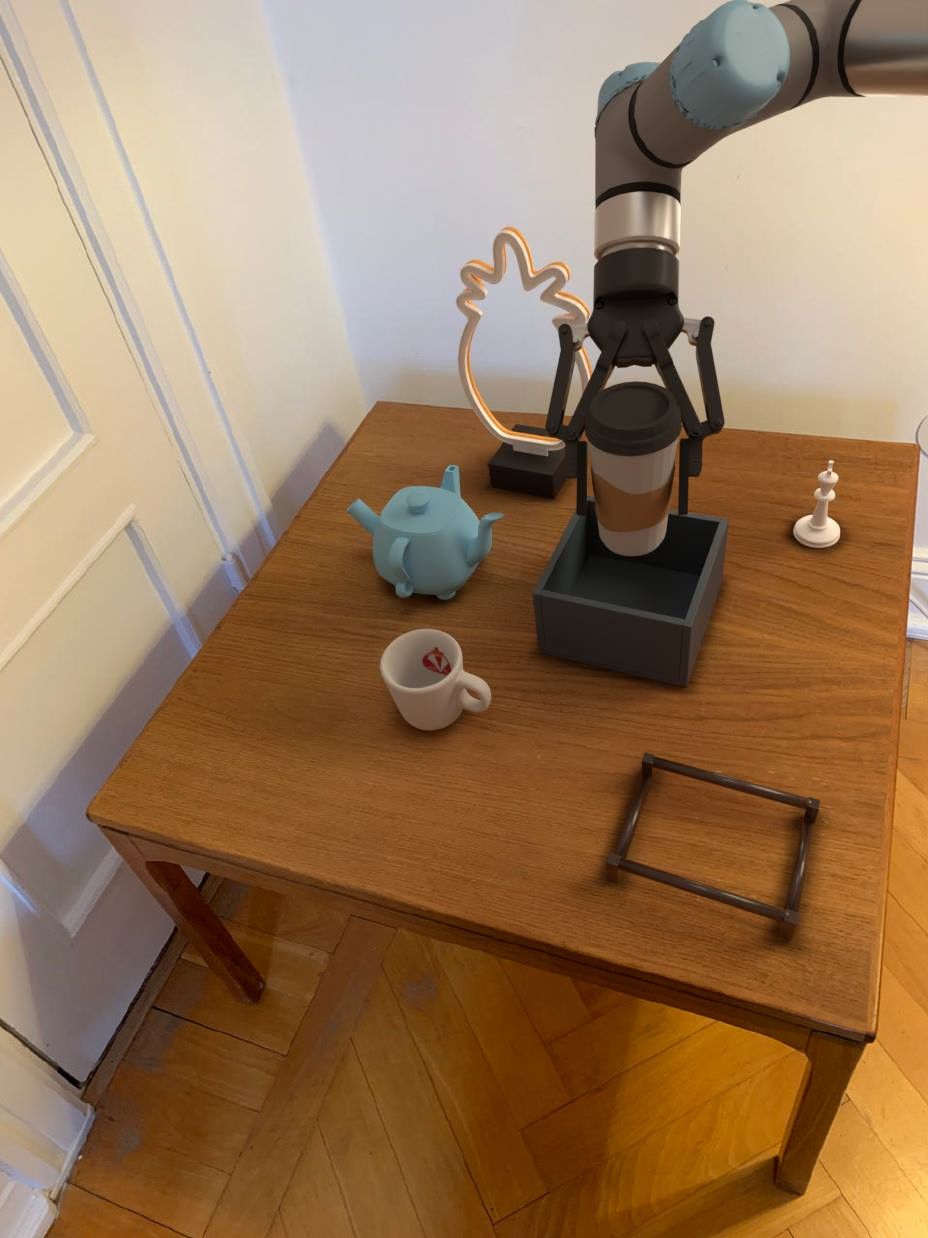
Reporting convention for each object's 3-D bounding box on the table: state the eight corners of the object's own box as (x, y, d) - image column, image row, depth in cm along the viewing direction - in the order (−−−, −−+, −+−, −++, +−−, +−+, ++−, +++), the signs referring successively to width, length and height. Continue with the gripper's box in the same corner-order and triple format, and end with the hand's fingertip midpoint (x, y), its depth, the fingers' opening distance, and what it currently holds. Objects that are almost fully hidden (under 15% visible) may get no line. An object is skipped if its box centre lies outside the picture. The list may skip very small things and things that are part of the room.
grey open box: (722, 580, 94) (729, 518, 87) (686, 688, 85) (691, 627, 78) (585, 555, 100) (582, 494, 93) (538, 652, 91) (532, 593, 84)
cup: (510, 695, 87) (501, 644, 82) (479, 758, 83) (468, 708, 77) (416, 670, 91) (402, 620, 86) (382, 729, 87) (364, 679, 81)
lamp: (608, 462, 111) (603, 212, 88) (584, 505, 106) (571, 251, 83) (491, 442, 117) (458, 205, 94) (463, 481, 112) (420, 241, 89)
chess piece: (841, 522, 98) (858, 450, 90) (837, 551, 95) (855, 478, 87) (795, 516, 99) (809, 445, 92) (790, 544, 96) (803, 473, 89)
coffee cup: (694, 537, 83) (704, 403, 72) (628, 578, 80) (628, 446, 69) (635, 497, 88) (636, 367, 77) (572, 534, 85) (563, 405, 74)
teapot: (478, 517, 107) (465, 442, 99) (514, 588, 98) (503, 512, 89) (360, 554, 106) (337, 481, 97) (386, 629, 96) (363, 556, 88)
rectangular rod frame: (815, 818, 74) (821, 799, 71) (791, 940, 67) (797, 924, 65) (644, 770, 79) (644, 751, 77) (606, 879, 73) (605, 862, 70)
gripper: (754, 266, 78) (748, 516, 79) (524, 281, 83) (521, 517, 84) (766, 234, 71) (759, 510, 72) (513, 251, 75) (510, 511, 76)
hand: (631, 514), depth 78 cm, fingers closed on coffee cup, 8 cm apart
